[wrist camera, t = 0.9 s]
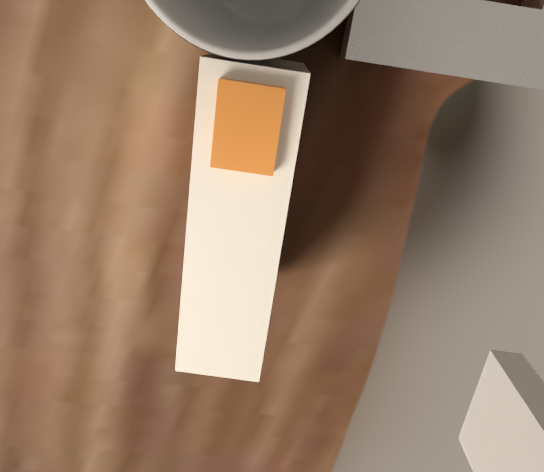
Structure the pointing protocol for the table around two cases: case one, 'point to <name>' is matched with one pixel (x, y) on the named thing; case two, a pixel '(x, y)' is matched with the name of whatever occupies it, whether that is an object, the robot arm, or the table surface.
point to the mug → (252, 24)
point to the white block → (237, 210)
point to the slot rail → (451, 38)
